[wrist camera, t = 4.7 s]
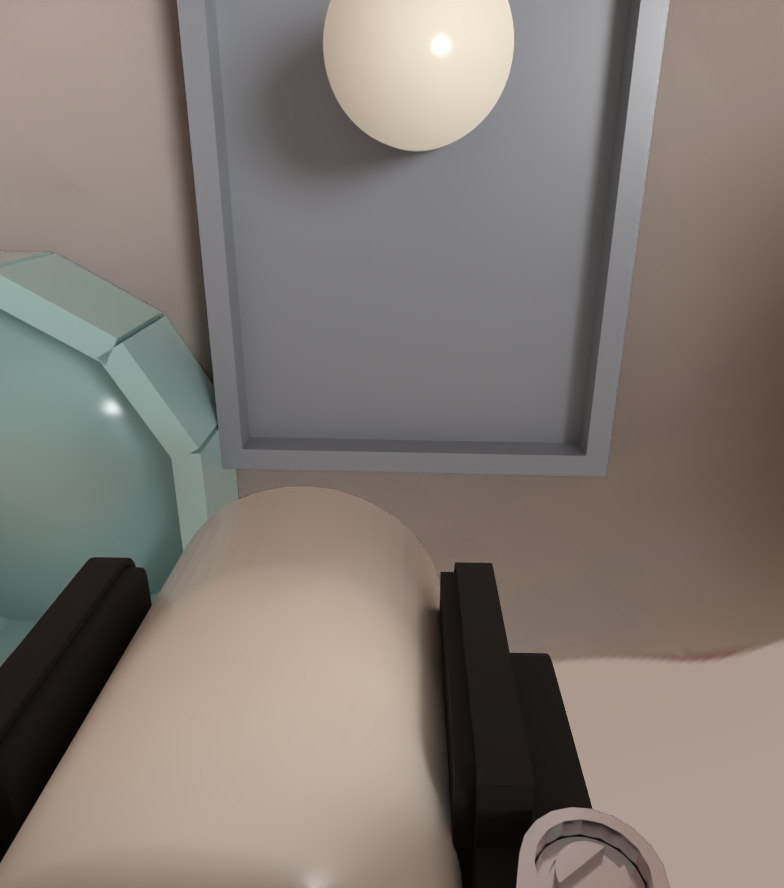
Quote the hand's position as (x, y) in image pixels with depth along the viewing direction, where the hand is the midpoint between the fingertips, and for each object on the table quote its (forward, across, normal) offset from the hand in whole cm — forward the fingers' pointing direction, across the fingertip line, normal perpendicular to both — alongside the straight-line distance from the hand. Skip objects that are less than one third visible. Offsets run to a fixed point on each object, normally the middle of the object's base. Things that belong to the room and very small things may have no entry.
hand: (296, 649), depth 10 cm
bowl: (+17, +13, +4) cm, 22 cm away
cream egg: (+1, 0, 0) cm, 1 cm away
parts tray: (+17, -2, -5) cm, 17 cm away
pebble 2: (+16, -2, -9) cm, 18 cm away
